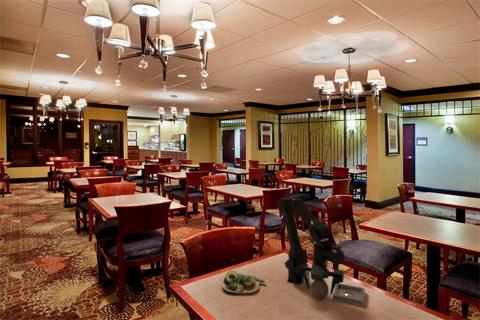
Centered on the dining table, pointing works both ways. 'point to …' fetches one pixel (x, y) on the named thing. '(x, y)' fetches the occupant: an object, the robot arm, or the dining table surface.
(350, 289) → the grey square tray
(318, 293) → the vase
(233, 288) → the salad plate
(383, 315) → the dining table surface
